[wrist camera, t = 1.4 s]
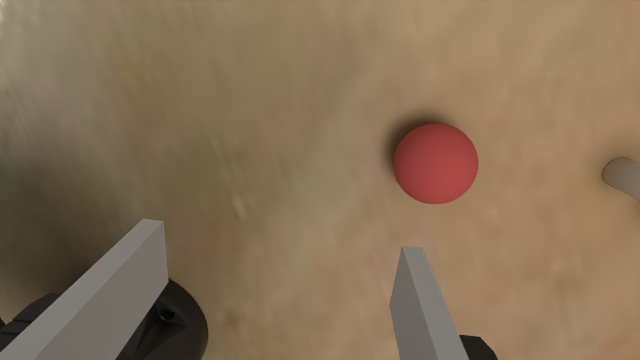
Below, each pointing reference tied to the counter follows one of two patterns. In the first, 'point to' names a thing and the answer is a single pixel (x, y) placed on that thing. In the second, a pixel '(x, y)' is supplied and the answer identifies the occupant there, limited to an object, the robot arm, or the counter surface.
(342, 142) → the counter surface
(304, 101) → the counter surface
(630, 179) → the pin
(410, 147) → the ball
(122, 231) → the counter surface
